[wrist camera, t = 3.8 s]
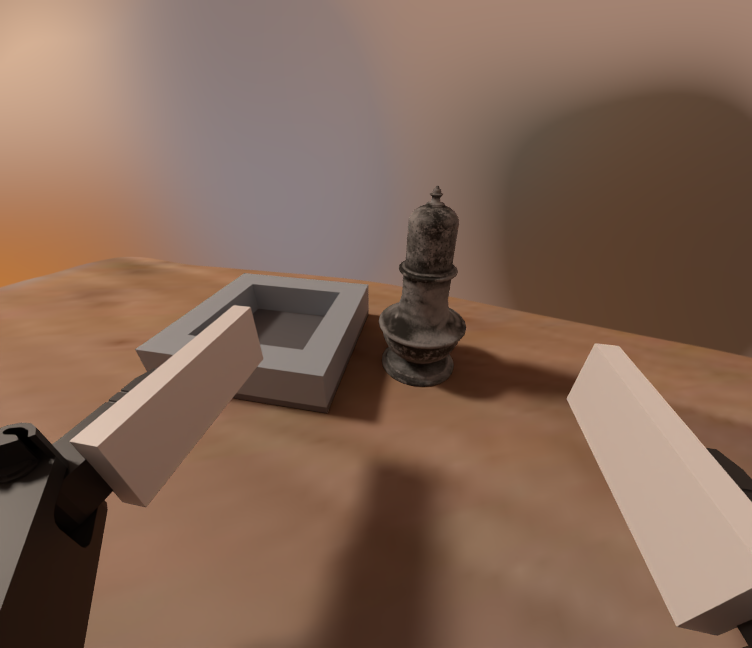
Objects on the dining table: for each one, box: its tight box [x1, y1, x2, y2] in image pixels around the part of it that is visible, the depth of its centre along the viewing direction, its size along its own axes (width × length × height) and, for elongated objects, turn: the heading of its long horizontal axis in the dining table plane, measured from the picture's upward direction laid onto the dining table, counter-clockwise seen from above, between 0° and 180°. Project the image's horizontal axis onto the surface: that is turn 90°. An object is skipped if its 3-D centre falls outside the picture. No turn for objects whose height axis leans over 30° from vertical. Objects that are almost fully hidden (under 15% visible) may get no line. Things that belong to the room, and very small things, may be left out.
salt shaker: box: [379, 186, 466, 387], centre depth 19 cm, size 6×6×12 cm
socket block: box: [135, 273, 368, 413], centre depth 23 cm, size 12×12×3 cm
